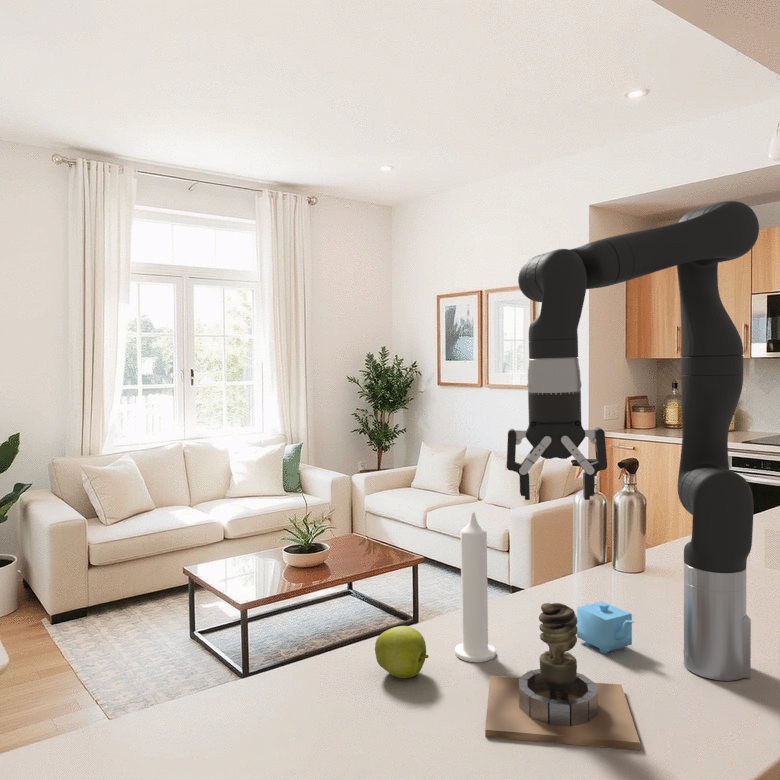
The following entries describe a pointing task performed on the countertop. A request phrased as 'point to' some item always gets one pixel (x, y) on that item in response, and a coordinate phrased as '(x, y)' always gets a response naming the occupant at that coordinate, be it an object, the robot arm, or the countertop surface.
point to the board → (602, 730)
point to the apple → (401, 651)
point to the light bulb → (558, 649)
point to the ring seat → (558, 701)
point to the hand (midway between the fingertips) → (556, 499)
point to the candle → (474, 595)
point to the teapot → (604, 626)
